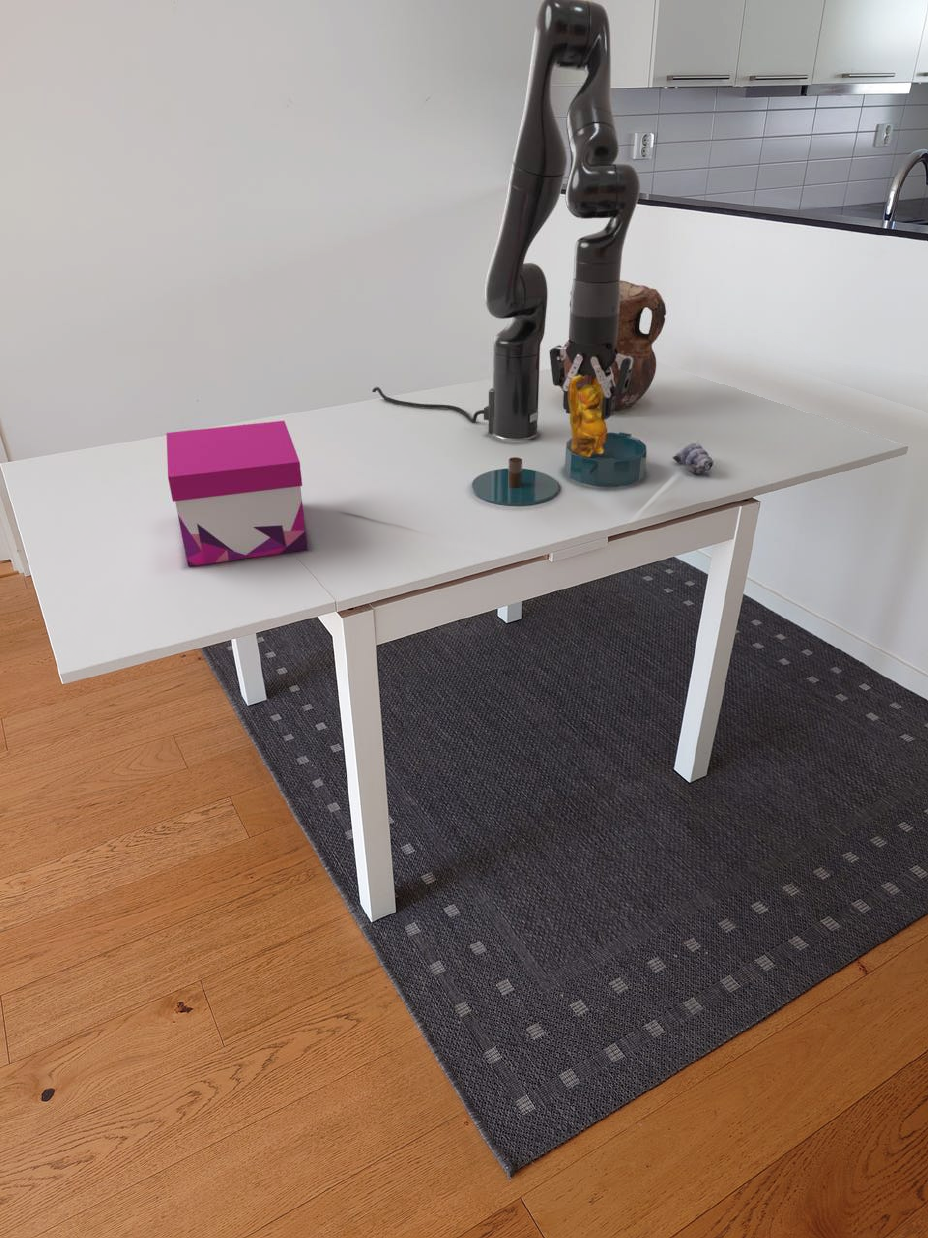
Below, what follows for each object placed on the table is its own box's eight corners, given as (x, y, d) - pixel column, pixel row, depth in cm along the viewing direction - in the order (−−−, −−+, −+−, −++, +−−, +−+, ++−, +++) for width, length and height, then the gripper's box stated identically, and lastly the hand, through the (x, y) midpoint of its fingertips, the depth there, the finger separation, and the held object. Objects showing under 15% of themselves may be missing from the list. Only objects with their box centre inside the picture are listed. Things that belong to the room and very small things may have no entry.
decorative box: (309, 550, 141) (299, 461, 133) (186, 568, 136) (168, 477, 128) (294, 502, 156) (284, 420, 148) (182, 516, 152) (166, 432, 144)
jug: (558, 418, 192) (564, 298, 178) (550, 388, 209) (555, 277, 196) (661, 417, 192) (675, 297, 178) (643, 387, 209) (655, 276, 196)
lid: (455, 497, 157) (454, 466, 154) (497, 467, 169) (497, 438, 166) (534, 516, 151) (535, 483, 147) (572, 483, 162) (574, 453, 159)
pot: (545, 484, 162) (546, 456, 159) (589, 449, 176) (591, 423, 173) (620, 501, 155) (623, 472, 153) (659, 463, 170) (662, 436, 167)
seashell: (676, 466, 172) (704, 487, 164) (664, 447, 169) (692, 468, 161) (698, 447, 171) (727, 467, 163) (686, 428, 168) (715, 448, 160)
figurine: (595, 459, 145) (603, 383, 138) (561, 449, 148) (567, 374, 141) (614, 448, 149) (623, 373, 142) (581, 438, 153) (587, 364, 146)
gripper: (647, 309, 136) (637, 415, 145) (562, 299, 143) (557, 402, 151) (629, 319, 131) (620, 429, 140) (541, 309, 137) (538, 414, 146)
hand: (587, 414), depth 146 cm, fingers closed on figurine, 5 cm apart
